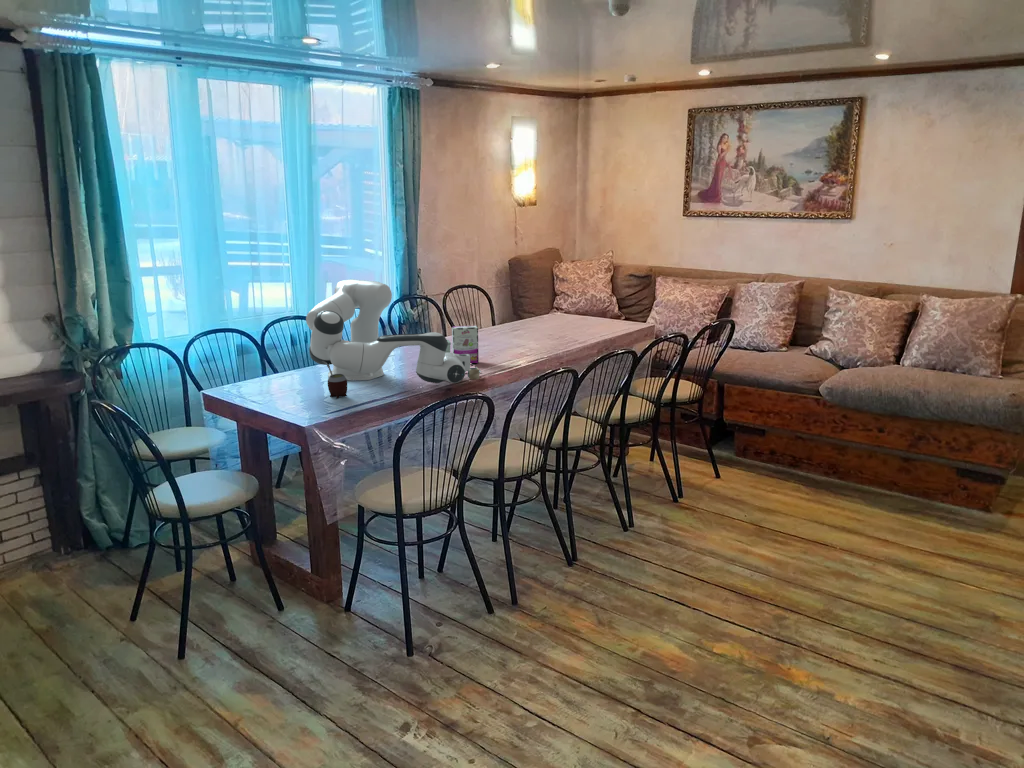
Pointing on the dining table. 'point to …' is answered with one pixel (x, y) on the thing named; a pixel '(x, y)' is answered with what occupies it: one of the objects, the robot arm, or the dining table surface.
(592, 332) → the dining table surface
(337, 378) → the mate gourd
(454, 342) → the candy bar box
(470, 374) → the letter cube
